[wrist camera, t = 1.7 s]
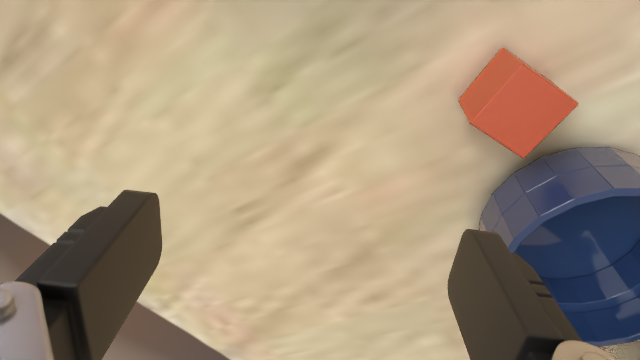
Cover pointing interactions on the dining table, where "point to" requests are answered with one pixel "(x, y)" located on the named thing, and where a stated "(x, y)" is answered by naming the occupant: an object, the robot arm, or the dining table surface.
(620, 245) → the bowl
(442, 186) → the dining table surface
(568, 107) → the block
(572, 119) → the dining table surface
